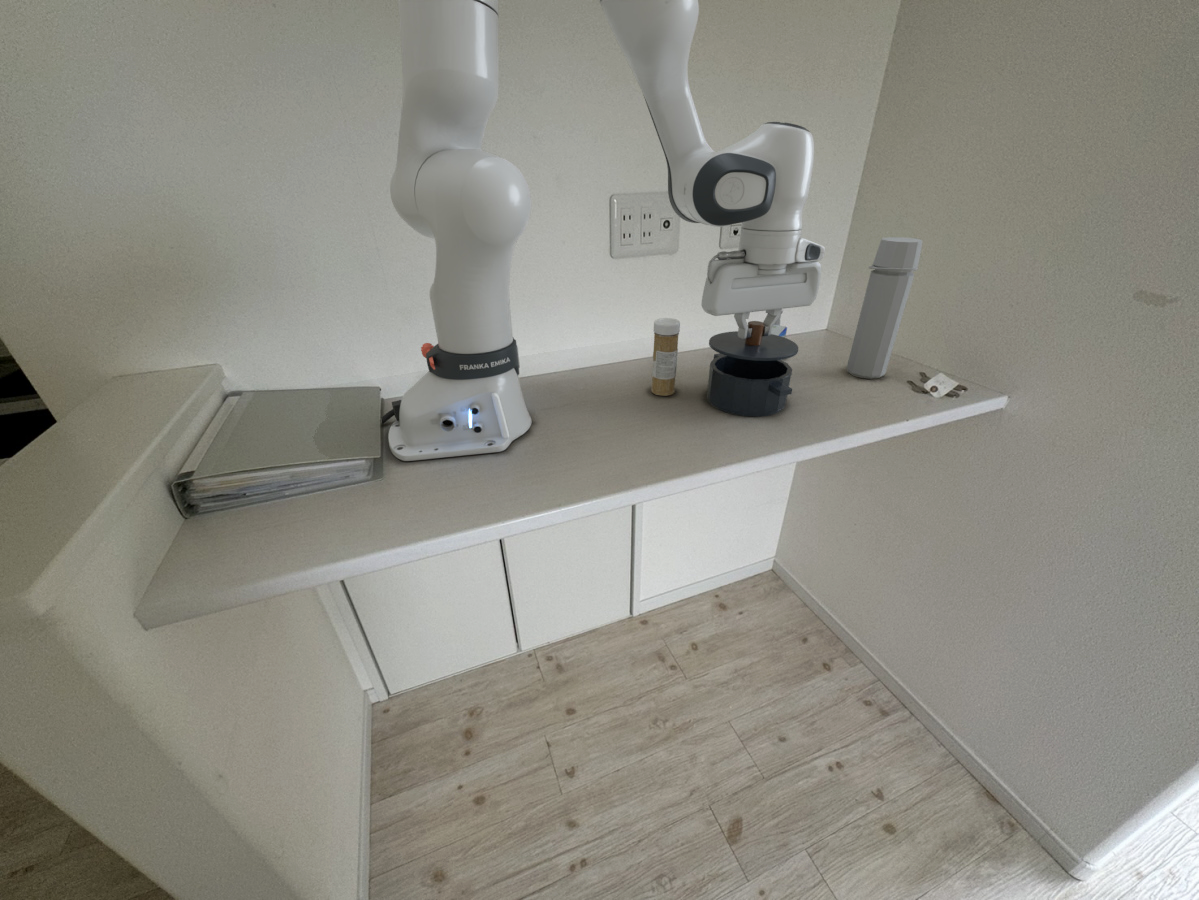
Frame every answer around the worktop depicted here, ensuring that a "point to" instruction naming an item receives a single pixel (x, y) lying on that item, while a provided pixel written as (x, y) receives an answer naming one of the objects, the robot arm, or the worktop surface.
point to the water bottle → (883, 306)
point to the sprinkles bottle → (665, 356)
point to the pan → (748, 385)
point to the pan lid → (754, 345)
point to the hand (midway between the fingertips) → (754, 336)
